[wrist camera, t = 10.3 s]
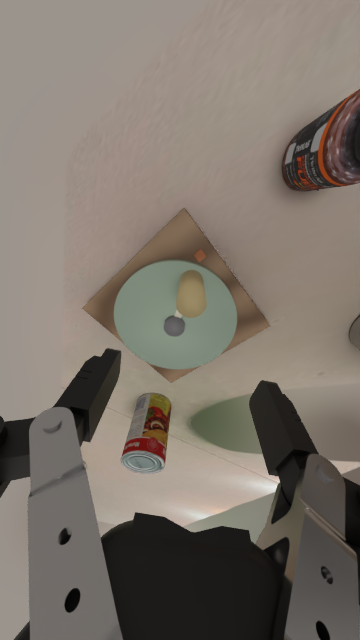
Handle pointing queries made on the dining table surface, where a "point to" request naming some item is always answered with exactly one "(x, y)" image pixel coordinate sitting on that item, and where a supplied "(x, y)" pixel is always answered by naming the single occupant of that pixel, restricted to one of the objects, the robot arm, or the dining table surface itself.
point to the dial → (175, 314)
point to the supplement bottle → (326, 149)
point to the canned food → (148, 435)
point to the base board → (187, 244)
